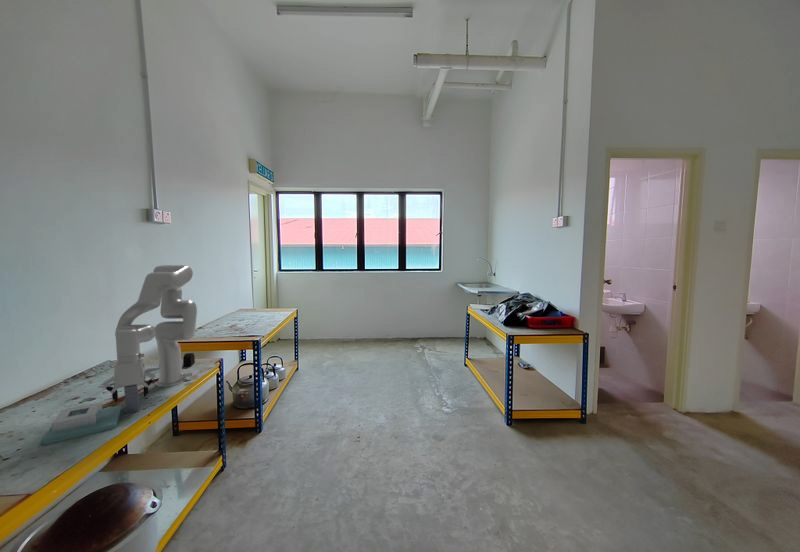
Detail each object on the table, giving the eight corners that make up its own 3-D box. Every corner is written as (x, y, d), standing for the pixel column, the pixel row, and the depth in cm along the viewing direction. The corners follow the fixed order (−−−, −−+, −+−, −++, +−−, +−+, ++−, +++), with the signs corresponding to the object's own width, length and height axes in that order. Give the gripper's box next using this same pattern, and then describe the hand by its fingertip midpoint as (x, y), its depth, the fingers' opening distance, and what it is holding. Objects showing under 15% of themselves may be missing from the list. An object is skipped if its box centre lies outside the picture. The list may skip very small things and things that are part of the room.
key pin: (139, 408, 147) (137, 382, 145) (138, 412, 143) (136, 385, 142) (127, 411, 144) (125, 384, 143) (126, 415, 141) (124, 387, 140)
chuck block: (122, 409, 146) (121, 396, 145) (115, 428, 131) (114, 413, 130) (58, 422, 135) (56, 408, 135) (42, 445, 120) (41, 428, 119)
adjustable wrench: (113, 380, 170) (113, 376, 170) (105, 379, 172) (105, 375, 172) (163, 369, 193) (163, 365, 193) (155, 368, 195) (155, 365, 195)
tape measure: (191, 368, 194) (190, 355, 193) (182, 369, 193) (181, 355, 192) (198, 360, 208) (198, 347, 207) (190, 361, 207) (190, 348, 206)
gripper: (154, 352, 149) (156, 390, 150) (103, 359, 140) (105, 399, 141) (153, 357, 143) (155, 396, 144) (99, 364, 134) (102, 406, 135)
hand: (131, 398), depth 143 cm, fingers open, 9 cm apart
